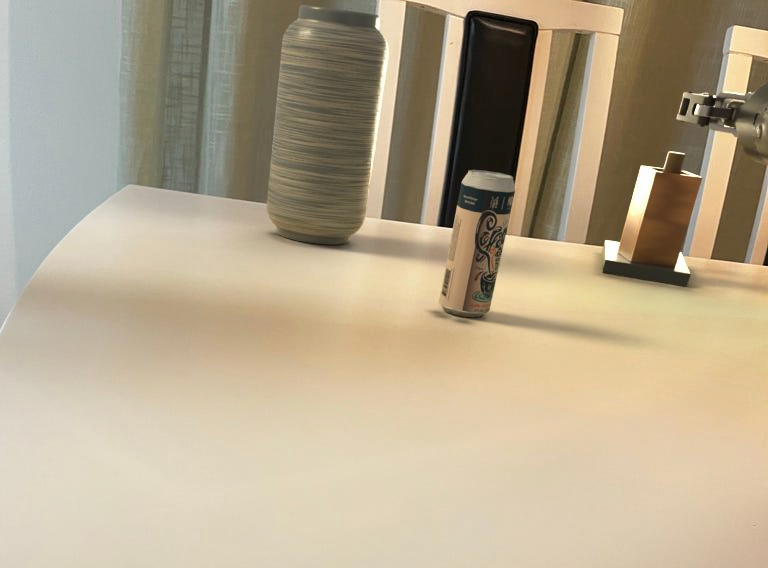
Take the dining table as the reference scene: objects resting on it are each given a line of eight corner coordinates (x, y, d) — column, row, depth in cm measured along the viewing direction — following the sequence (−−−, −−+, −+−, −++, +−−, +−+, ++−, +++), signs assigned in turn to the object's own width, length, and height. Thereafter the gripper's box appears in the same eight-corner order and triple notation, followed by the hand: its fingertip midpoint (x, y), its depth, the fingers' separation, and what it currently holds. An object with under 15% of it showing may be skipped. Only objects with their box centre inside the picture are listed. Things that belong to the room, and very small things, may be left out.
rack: (678, 264, 133) (712, 152, 126) (686, 287, 119) (725, 162, 112) (602, 251, 134) (631, 140, 127) (602, 272, 121) (634, 149, 114)
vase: (306, 249, 112) (335, 8, 100) (244, 227, 119) (264, -1, 107) (381, 246, 119) (416, 20, 107) (318, 225, 126) (344, 11, 114)
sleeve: (660, 257, 126) (685, 171, 121) (675, 267, 121) (702, 177, 116) (617, 252, 126) (640, 165, 120) (630, 261, 121) (656, 171, 116)
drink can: (476, 321, 92) (506, 180, 86) (429, 310, 94) (455, 170, 88) (495, 314, 96) (525, 177, 89) (450, 302, 98) (476, 168, 91)
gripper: (890, 87, 90) (808, 77, 104) (736, 68, 89) (674, 60, 103) (856, 178, 94) (781, 156, 108) (709, 161, 93) (653, 141, 107)
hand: (729, 110), depth 105 cm, fingers open, 8 cm apart
